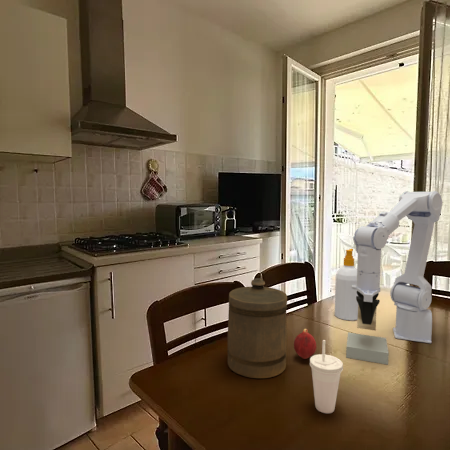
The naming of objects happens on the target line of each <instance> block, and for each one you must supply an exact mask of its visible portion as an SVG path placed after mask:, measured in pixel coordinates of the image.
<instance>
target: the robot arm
mask: <svg viewBox="0 0 450 450" xmlns="http://www.w3.org/2000/svg"><path fill="white" fill-rule="evenodd" d="M442 198H443V197H442V196H441V194H440V192H439V191H437V190H433V191H408V190H407V191H406V190H405V191H404V192H403V193H402V194H400V195H399V196H398V202H397V203H396V204H395V205H394V206H393V207H392V209H391V210H389V211H381V212H379V214H378V216H376V217H375V218H374V219H373V220H371V221H370V222H369V223H368V224H367V225H361V226H359V227H358V228H356V230H355V232H354V235H353V237H352V240H353V243H354V246H355V252H356V253H357V261H356V263H357V266H356V269H357V285H352V289H356V290H357V294H358V296H356V300H357V302H358V305H359V307H360V311H361V319H362V323H363V324H369V325H371V323H372V320H373V316H374V312H375V309H376V308H377V307H378V305H380V299H378V297H379V295H380V292H381V265H382V264H381V263H382V262H381V259H382V249H383V248H385V246H386V244H387V242H388V239H389V237H390V236H391V234H392V233H393V232H394V231H396V230H397V229H398V228H399V227H400V221H402V219H404V218H406V217H407V218H408V220H409V221H411V222H412V223H413V224H414V225H413V230H412V235H411V239H410V245H409V249H408V250H409V251H408V254H407V261H406V264H405V267H404V268H405V269H404V273H402V274H400V275H399V276H397V277H395V278H394V282H393V285H392V287H391V289H390V299H391V301H392V302H393V303H394V304H393V305H394V306H396V310H395V311H396V312H395V313H396V315H395V327H393V328H392V331H393V335H394V338H395V339H397V340H398V339H399V340H406V341H413V342H419V343H427V344H432V335H433V334H432V331H433V313H432V310H431V309H428V308H429V307H430V306H431V303H432V290H433V289H432V285H431V283H429V282H428V280H427V279H426V278H425V277H424V276H425V275H424V274H425V270H426V266H427V261H428V256H429V250H430V246H431V241H432V238H433V237H432V236H433V232H434V226H435V224H436V222H438V221H440V217H441V213H442V207H443V199H442ZM417 286H418V287H417ZM376 310H377V309H376Z"/></svg>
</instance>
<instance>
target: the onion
mask: <svg viewBox="0 0 450 450" xmlns="http://www.w3.org/2000/svg"><path fill="white" fill-rule="evenodd" d="M308 330H309V329H307V328H304V329H303V331H302V332H301V333H300V332H299V334H298V335H296V337H295V338H294V341H293V349H294V351H295V353H296V354H297V355H298V356H299V357H300V358H301V359H302V360H307V359H308V358H309V359H310V358H311V357H312V356H314V355H315V353H316V351H317V346H318V345H317V342H316V340H315V338H314V336H313V335H312V334H311V333H309V331H308Z"/></svg>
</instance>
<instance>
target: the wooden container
mask: <svg viewBox="0 0 450 450" xmlns="http://www.w3.org/2000/svg"><path fill="white" fill-rule="evenodd" d="M250 284H251V286H243V287H242V286H241V287H237V288H235V289H232V290H231V291H230V292H229V293H228V316H227V317H228V319H227V320H228V322H227V366H228V367H229V369H230V370H231V371H233V372H234V373H235V374H238V375H240V376H243V377H246V378H251V379H270V378H272V377H276V376H279V375H280V374H282V373H283V372H285V370H286V368H287V341H288V340H287V337H288V336H287V335H288V334H287V309H288V308H287V307H288V295H287V293H286V292H284V291H282V290H281V289H278V288H273V287H270V286H269V287H267V286H265V285H266V281H265V280H264V279H262V278H261V277H259V278H258V277H256V278H254V279H252V280H251V282H250Z"/></svg>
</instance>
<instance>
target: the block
mask: <svg viewBox="0 0 450 450" xmlns="http://www.w3.org/2000/svg"><path fill="white" fill-rule="evenodd" d="M356 325H357V326H356V328H357V329H361V330H369V331H376V330H377V329H376V328H377V307H376V309H375V312H374V316H373V320H372V323H371V325H369V324H363V323H362V319H361V311H360V307H359V305H358V320H357V324H356Z"/></svg>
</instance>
